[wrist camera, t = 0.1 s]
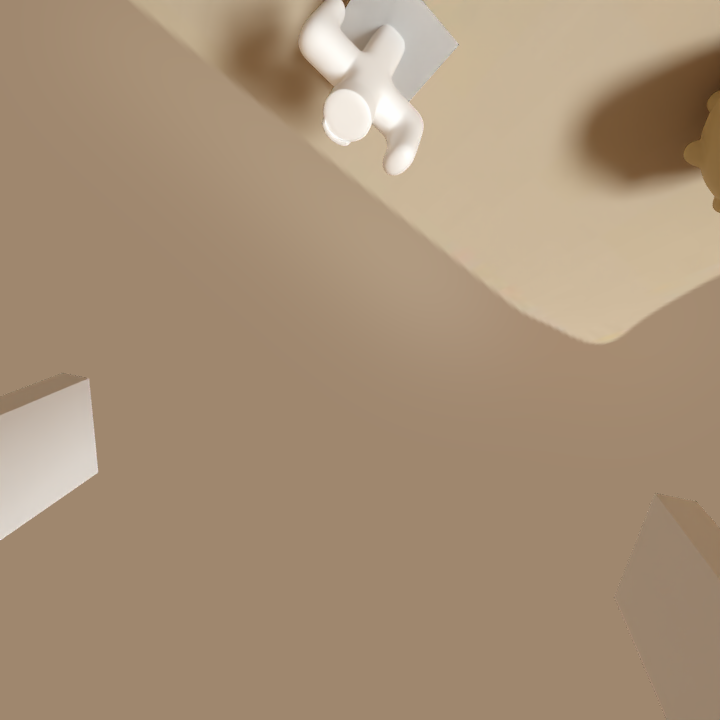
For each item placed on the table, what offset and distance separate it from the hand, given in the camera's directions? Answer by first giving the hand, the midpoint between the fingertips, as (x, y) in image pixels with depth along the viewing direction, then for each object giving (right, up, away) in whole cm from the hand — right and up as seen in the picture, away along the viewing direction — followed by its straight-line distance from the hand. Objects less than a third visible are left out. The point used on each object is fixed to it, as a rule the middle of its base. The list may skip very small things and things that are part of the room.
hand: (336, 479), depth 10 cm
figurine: (+3, +28, +23) cm, 36 cm away
